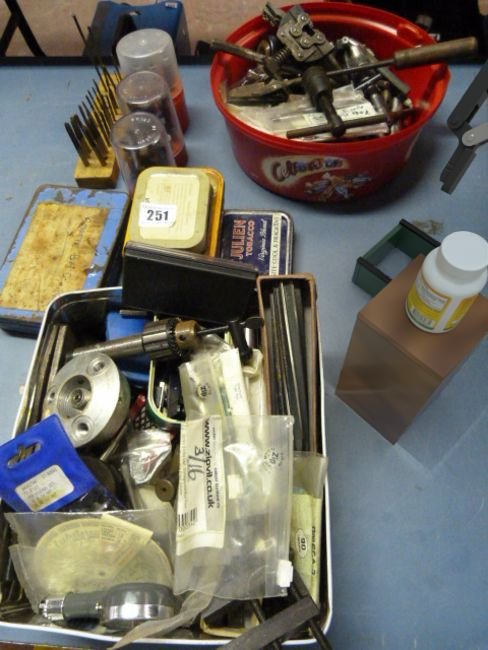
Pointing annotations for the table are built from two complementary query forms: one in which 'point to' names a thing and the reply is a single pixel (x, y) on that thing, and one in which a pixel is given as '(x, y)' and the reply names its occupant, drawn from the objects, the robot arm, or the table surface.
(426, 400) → the brown rectangular block
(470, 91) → the robot arm
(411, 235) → the tray
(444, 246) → the supplement bottle
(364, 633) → the table surface
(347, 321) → the table surface
